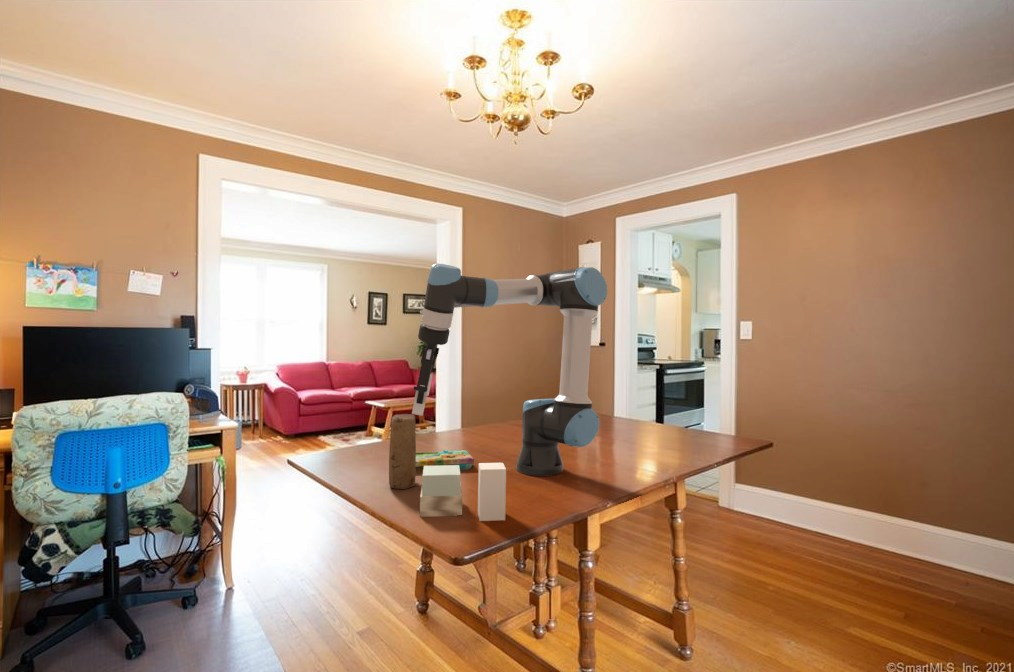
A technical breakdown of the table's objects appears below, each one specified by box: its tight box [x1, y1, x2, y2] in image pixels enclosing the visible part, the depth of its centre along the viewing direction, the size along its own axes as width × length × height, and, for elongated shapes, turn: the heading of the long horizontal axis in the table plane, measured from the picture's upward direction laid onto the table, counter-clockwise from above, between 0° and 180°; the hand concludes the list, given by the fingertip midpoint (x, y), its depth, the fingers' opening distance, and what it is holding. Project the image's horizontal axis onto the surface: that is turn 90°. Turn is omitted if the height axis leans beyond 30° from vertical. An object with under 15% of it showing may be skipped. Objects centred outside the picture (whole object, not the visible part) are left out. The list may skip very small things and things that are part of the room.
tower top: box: [421, 465, 461, 497], centre depth 123 cm, size 9×9×5 cm
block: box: [388, 413, 417, 490], centre depth 143 cm, size 11×8×20 cm
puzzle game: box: [416, 449, 475, 471], centre depth 163 cm, size 12×5×20 cm
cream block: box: [477, 462, 507, 522], centre depth 119 cm, size 6×6×12 cm
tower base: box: [419, 483, 463, 518], centre depth 124 cm, size 10×10×5 cm
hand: (420, 404), depth 129 cm, fingers open, 13 cm apart
